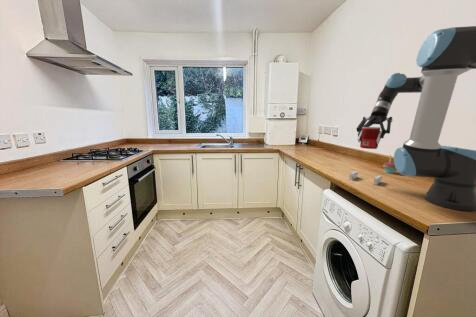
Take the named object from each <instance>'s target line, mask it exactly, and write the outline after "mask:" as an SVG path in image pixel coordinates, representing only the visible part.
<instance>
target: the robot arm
mask: <svg viewBox="0 0 476 317" xmlns="http://www.w3.org/2000/svg"><path fill="white" fill-rule="evenodd" d="M415 60H416V65H417V67H420V68H421V71H420V73H421V74H422V76H420V77H419V76H418V77H417V76H416V77H407V75H406V74H404V73H400V72H395V73H393V74H391V75H390V76H389V78H388V79H387V81H386V82H385V84H384V87H383V89H382V90H381V91H380V92H379V94H378V97H377V100H376V102H375V104H374V106H373V109H372V111H371V113H370V115H369V116H368V117H366V116H363V117H362V120H361V122H360V123H359V124H358V125H357V127H356V128H355V129H356V132H357V142H358V143H361V134H362V127H373V125H379V126H380V133H379V135H378V138H377V140H376V141H377V144H378V145H380V142H381V139H384V137H385V135H386V134H388V135H389V134H390V133H391V125H392V123H393V116H390V117H388V114H389V112H390V110H391V106H392V104H393V102H394V100H395V99H396V98H397V96H398V94H400V93H401V94H404V93H405V94H406V93H407V94H409V93H410V94H412V93H415V94H419V93H420V95H419V100H418V105H417V108H416V112H415V114H414V115H415V116H414V120H413V124H412V127H411V131H410V135H409V138H408V139H407V140H405V141H403V145H402V147H398V148H396V149H395V151H394V154H393V162H394V164H395V167H396V171H397V173H399V175H402V176H408V177H413V178H414V177H419V178H431V179H433V178H434V179H433V183H432V184H431V185H430V186H429V189H428V190H427V191H426V192H425V196H424V199H425V200H426V201H427V202H429V203H430V204H433V205H437V206H440V207H443V208H447V209H452V210H458V211H464V212H465V211H466V212H475V211H476V149H475V150H474V149H468V148H461V147H455V146H447V145H441V144H440V143H439V140H440V136H441V133H442V130H443V126H444V123H445V120H446V117H447V113H448V109H449V107H450V103H451V100H452V97H453V93H454V90H455V86H456V83H457V79H458V78H459V77H458V76H460V75H463V74H464V73H466V72H469V71H470V70H476V25H472V26H471V25H470V26H457V27H456V26H455V27H447V28H441V29H437V30H435V31H433V32H432V33H430V35H428V36H427V37H426V38H425V40H423V43H422V44H421V46H420V48H419V50H418V53H417V56H416V59H415ZM384 122H387V125H386V128H385V125H384Z"/></svg>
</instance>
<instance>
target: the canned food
mask: <svg viewBox="0 0 476 317" xmlns="http://www.w3.org/2000/svg"><path fill="white" fill-rule="evenodd" d="M380 131H381V127H379V126H370V127H362V134H361V141H360V142H359V143H360V144H359V147H360V149H366V150H367V149H368V150H369V149H370V150H376V149H378V147H379V144H377V141H376V140H377V138H378V135H379V133H380Z"/></svg>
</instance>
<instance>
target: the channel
mask: <svg viewBox="0 0 476 317" xmlns="http://www.w3.org/2000/svg"><path fill="white" fill-rule="evenodd" d="M358 173H359V172H358V170H357V171H356V170H355V171H352V172H350V173H349V180H350V181H353V180H354V179H356V178H358V175H359V174H358ZM382 178H383V176H382V175H380V174H379V175H377V176H375V177H374V178H373V186H378V184H380V183H381V182H382Z"/></svg>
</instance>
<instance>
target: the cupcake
mask: <svg viewBox="0 0 476 317" xmlns="http://www.w3.org/2000/svg"><path fill="white" fill-rule="evenodd" d="M382 167H383V168H384V173H387V174H395V173H396V171H397V170H396V167H395V164H394V161H392V155H391V153H390V155H389V161H386V162H384V163H383V165H382Z"/></svg>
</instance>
